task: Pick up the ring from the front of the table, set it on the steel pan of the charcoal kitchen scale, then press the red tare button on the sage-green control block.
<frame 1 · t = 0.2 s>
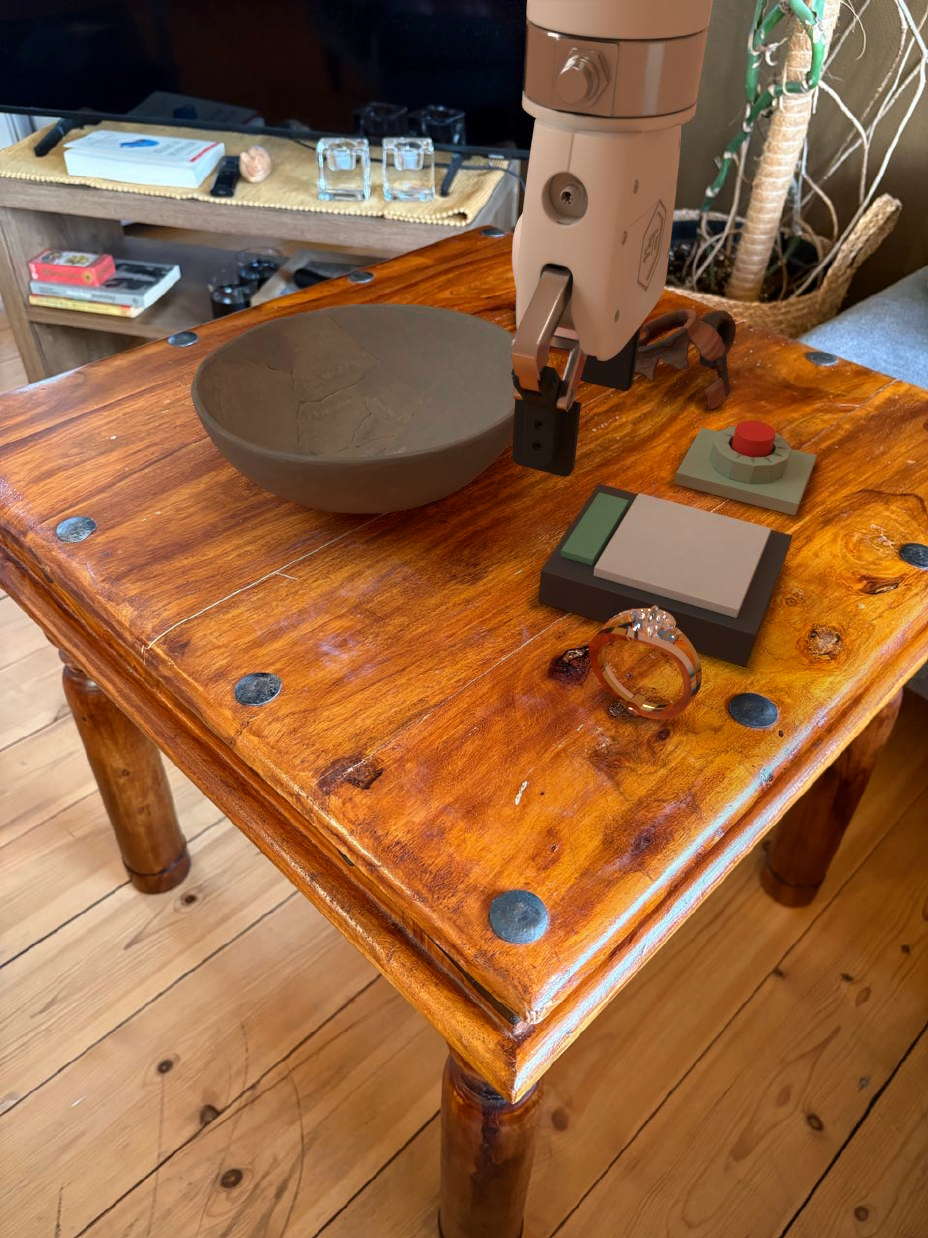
hand: (575, 423, 54), 18 cm above the table, tool pointing down, fingers open, 9 cm apart
ring: (634, 712, 63), on the table
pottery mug: (682, 386, 95), on the table
tare block: (744, 475, 83), on the table
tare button: (753, 439, 81), point 3 cm above the table, slide at 0.1 cm
vase: (574, 323, 105), on the table
bowl: (371, 476, 82), on the table
scale: (663, 584, 72), on the table
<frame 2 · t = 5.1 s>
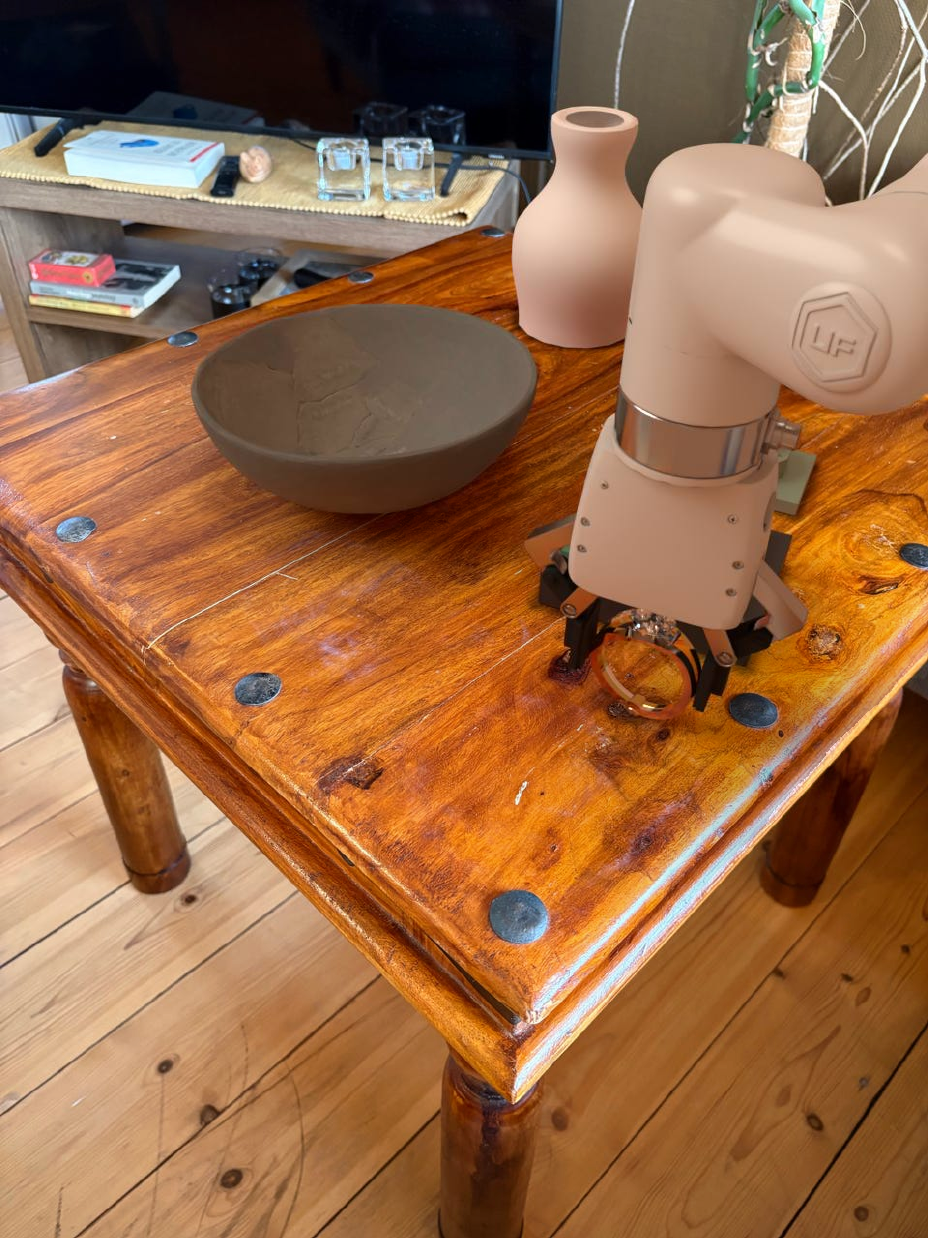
hand: (641, 674, 61), 3 cm above the table, tool pointing down, fingers closed on ring, 7 cm apart
ring: (634, 712, 63), on the table, touching gripper
everything else where it was.
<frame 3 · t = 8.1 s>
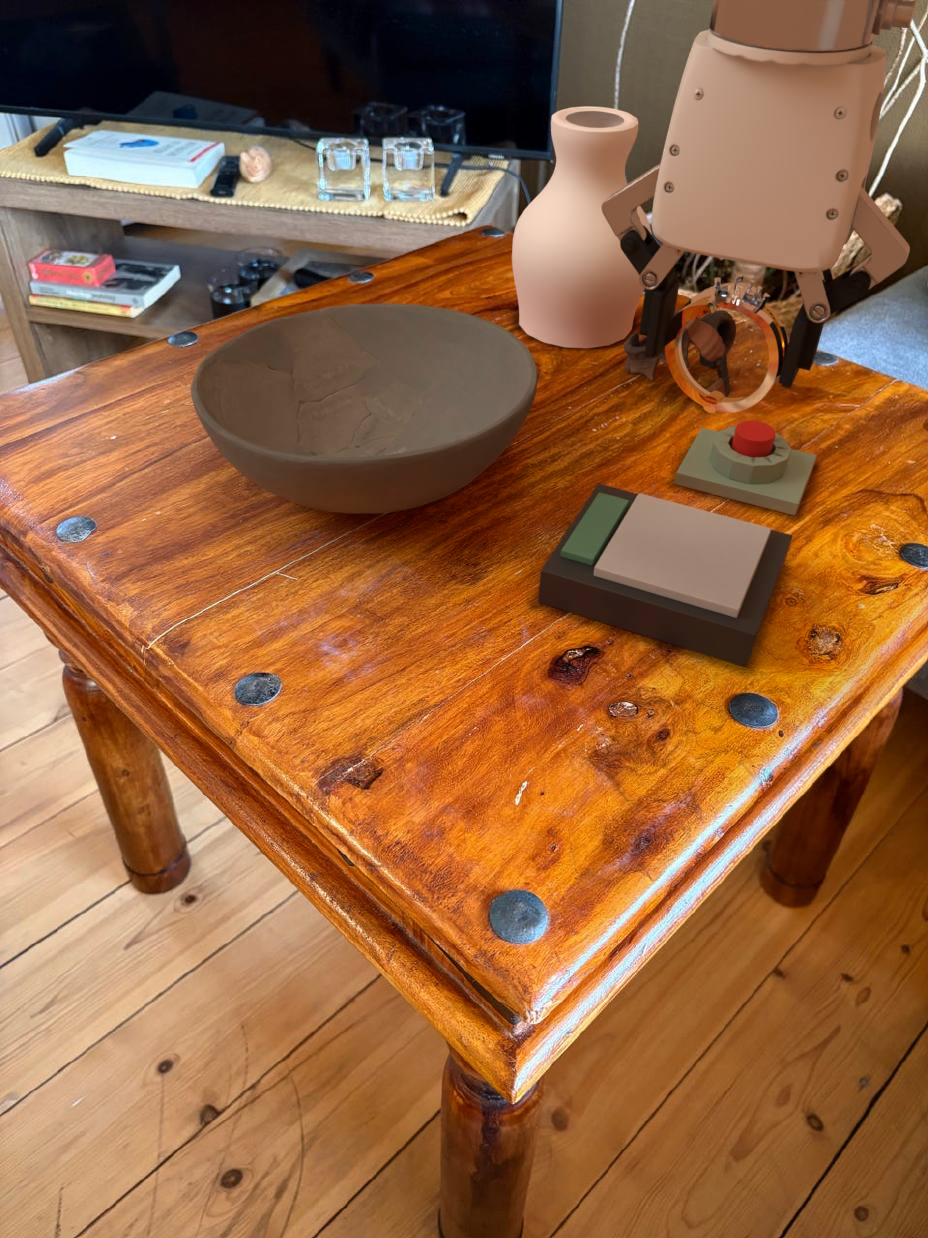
hand: (722, 360, 58), 19 cm above the table, tool pointing down, fingers closed on ring, 7 cm apart
ring: (711, 412, 60), point 16 cm above the table, touching gripper
everything else where it was.
when the fingers open (7 cm above the table, at t = 11.4 s): ring stays where it is, resting on scale.
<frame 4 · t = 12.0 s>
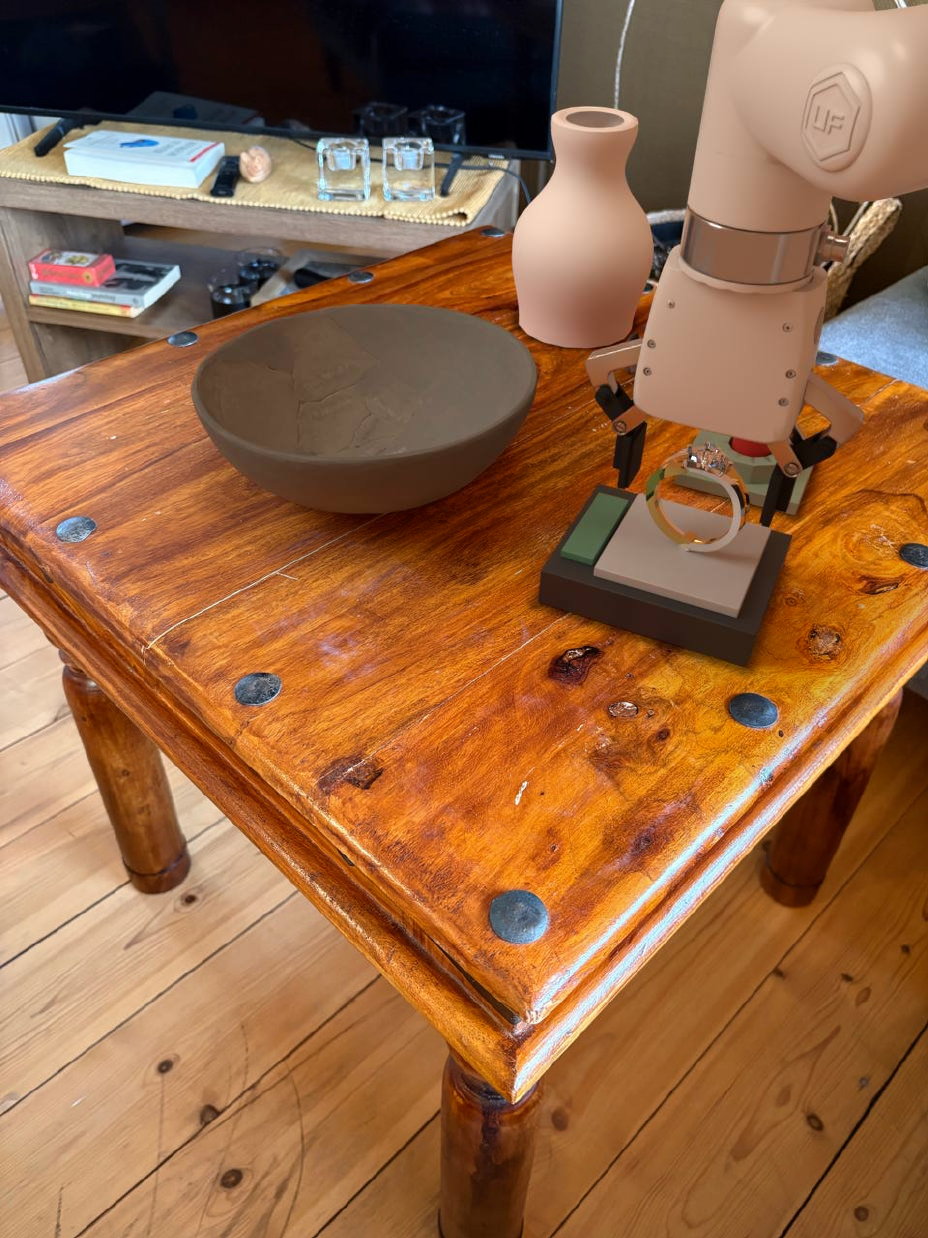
hand: (696, 496, 67), 8 cm above the table, tool pointing down, fingers open, 9 cm apart
ring: (685, 549, 70), point 4 cm above the table, touching scale
everything else where it was.
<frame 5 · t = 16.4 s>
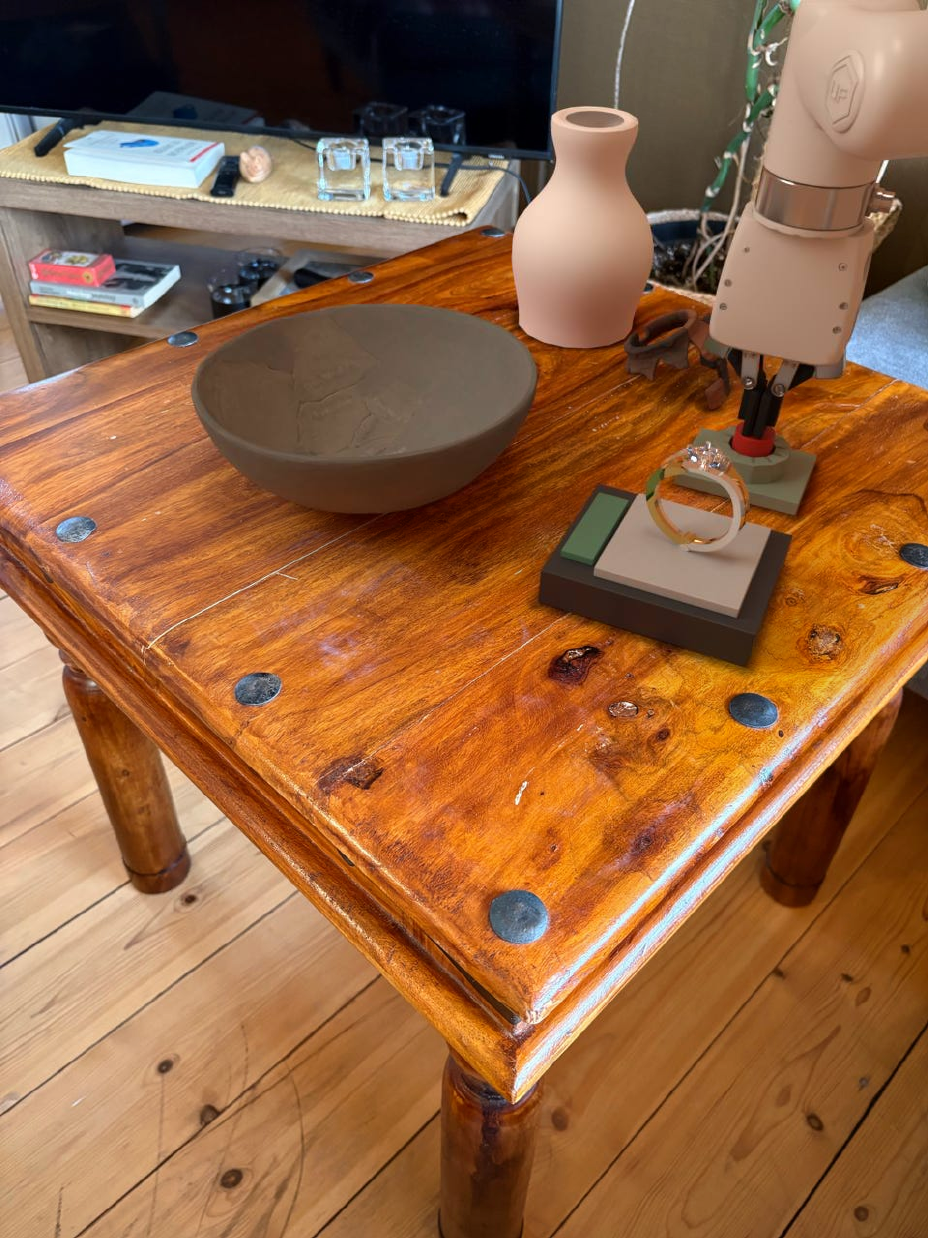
hand: (754, 429, 80), 4 cm above the table, tool pointing down, fingers closed
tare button: (753, 439, 81), point 3 cm above the table, slide at 0.1 cm, touching gripper
everything else where it was.
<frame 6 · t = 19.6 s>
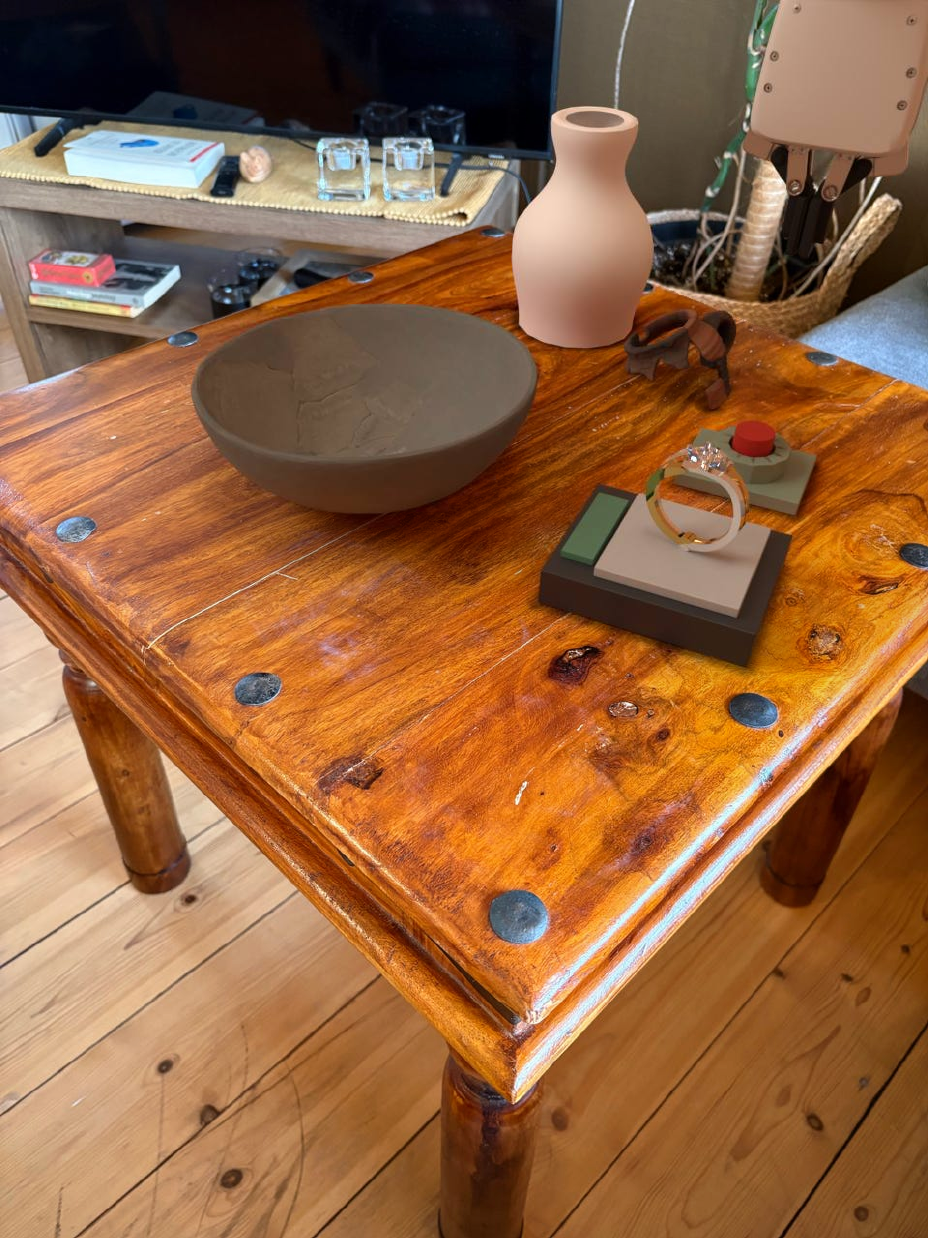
hand: (800, 249, 71), 19 cm above the table, tool pointing down, fingers closed
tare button: (753, 439, 81), point 3 cm above the table, slide at 0.1 cm
everything else where it was.
at the end: ring inside the target area on the scale (0.1 cm from its centre), point 3.6 cm above the scale's base; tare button pushed in 1.1 cm at the most during the clip, back to where it started at the end; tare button slide at 0.1 cm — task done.
